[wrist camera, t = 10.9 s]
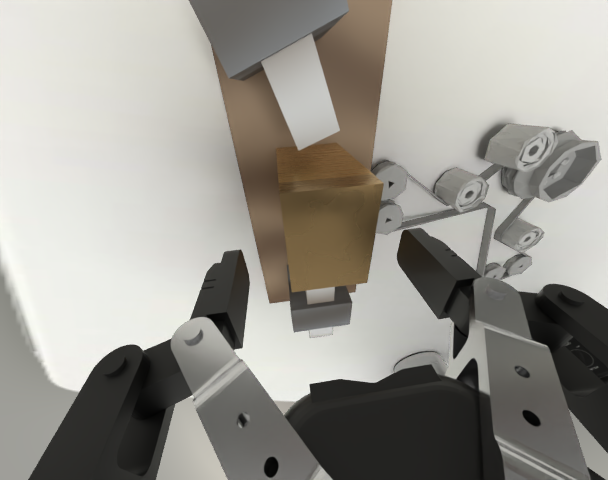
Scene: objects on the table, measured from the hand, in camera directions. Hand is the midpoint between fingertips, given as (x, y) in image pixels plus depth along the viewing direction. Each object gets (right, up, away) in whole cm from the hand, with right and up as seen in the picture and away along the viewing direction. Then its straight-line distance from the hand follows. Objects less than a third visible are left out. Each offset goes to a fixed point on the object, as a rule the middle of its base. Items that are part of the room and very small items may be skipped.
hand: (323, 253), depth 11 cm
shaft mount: (-1, +6, +8) cm, 10 cm away
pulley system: (+18, +5, +12) cm, 22 cm away
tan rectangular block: (-1, +5, +6) cm, 8 cm away
